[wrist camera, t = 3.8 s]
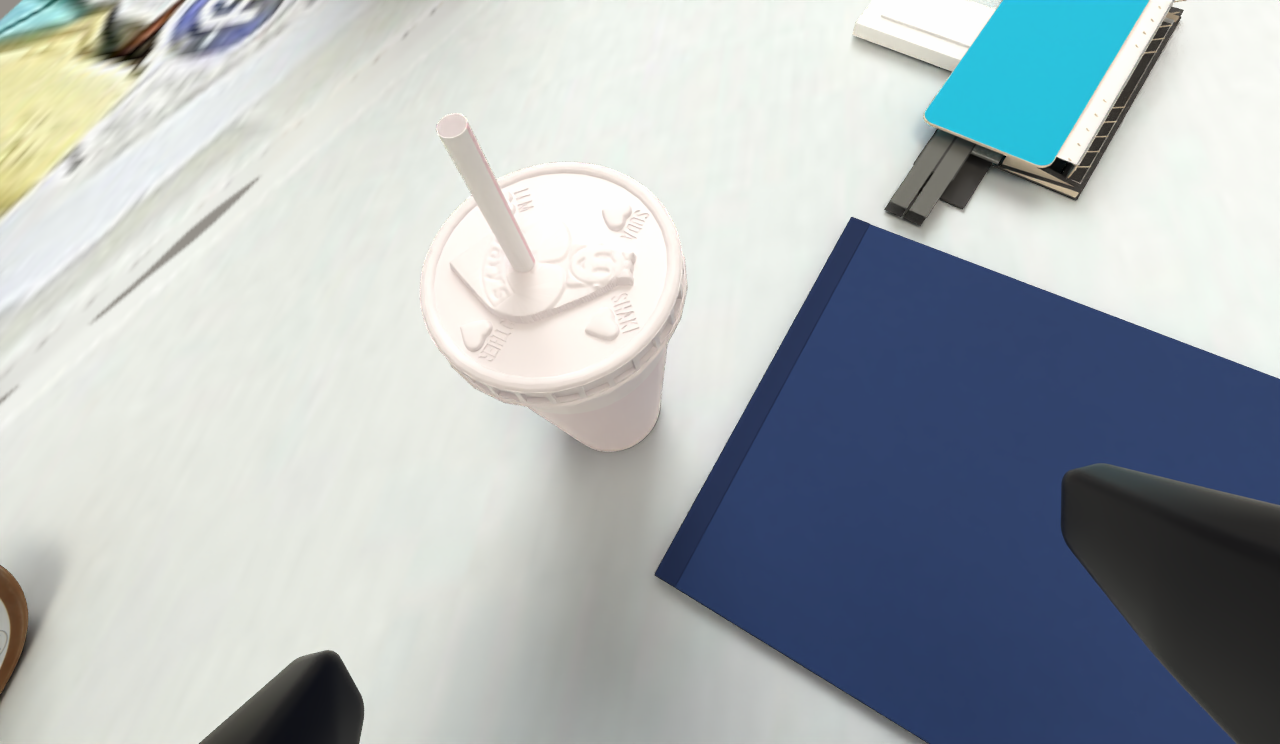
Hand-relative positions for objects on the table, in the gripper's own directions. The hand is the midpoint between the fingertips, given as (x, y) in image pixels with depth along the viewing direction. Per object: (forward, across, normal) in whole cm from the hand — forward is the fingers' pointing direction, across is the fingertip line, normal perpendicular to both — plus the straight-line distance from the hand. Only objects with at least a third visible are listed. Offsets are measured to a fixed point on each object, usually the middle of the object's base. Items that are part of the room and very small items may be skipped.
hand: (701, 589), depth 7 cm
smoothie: (+15, +2, +4) cm, 16 cm away
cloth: (+10, -11, +9) cm, 18 cm away
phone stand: (+24, -18, -4) cm, 30 cm away
